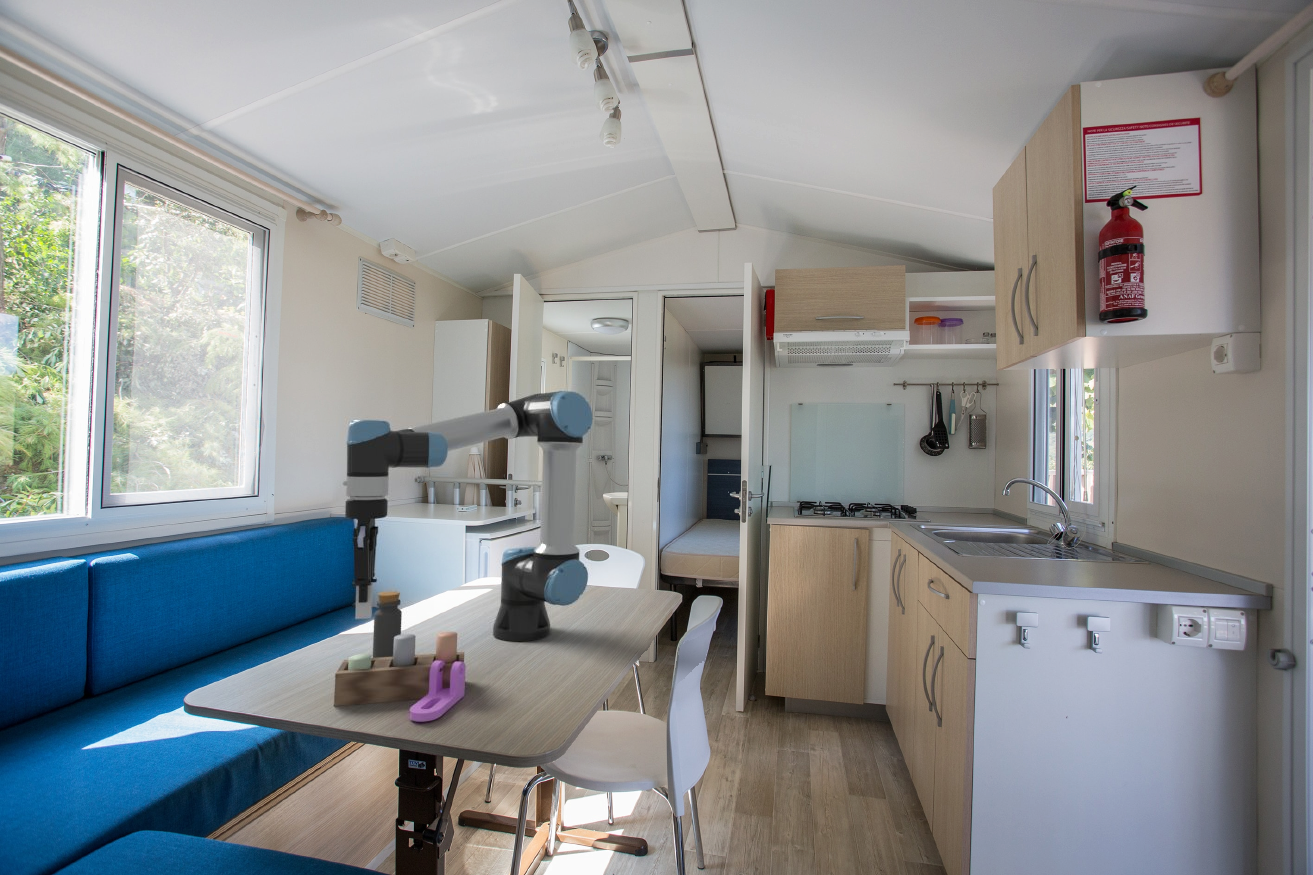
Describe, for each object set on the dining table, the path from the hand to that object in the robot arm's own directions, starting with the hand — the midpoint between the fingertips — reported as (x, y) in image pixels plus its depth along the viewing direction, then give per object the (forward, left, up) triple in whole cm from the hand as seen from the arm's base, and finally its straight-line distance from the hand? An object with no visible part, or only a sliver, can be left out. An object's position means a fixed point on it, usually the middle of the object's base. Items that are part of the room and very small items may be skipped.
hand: (363, 617), depth 117 cm
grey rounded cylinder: (-8, 0, -11) cm, 13 cm away
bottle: (-2, -22, -15) cm, 27 cm away
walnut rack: (-8, 0, -15) cm, 17 cm away
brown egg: (-16, 0, -11) cm, 19 cm away
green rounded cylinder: (0, 0, -14) cm, 14 cm away
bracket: (-15, +10, -15) cm, 23 cm away
